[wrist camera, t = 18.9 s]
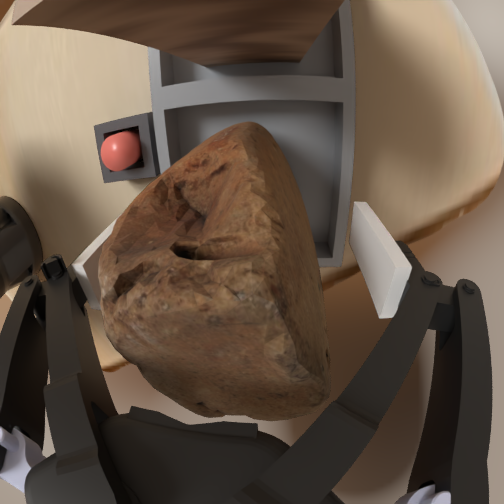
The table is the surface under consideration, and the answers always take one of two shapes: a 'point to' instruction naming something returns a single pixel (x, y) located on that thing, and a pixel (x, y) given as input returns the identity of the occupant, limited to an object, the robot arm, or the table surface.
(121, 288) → the block
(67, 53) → the table surface
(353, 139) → the gray divided tray
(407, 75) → the table surface
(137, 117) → the button housing
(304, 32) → the seated billet
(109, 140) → the button
